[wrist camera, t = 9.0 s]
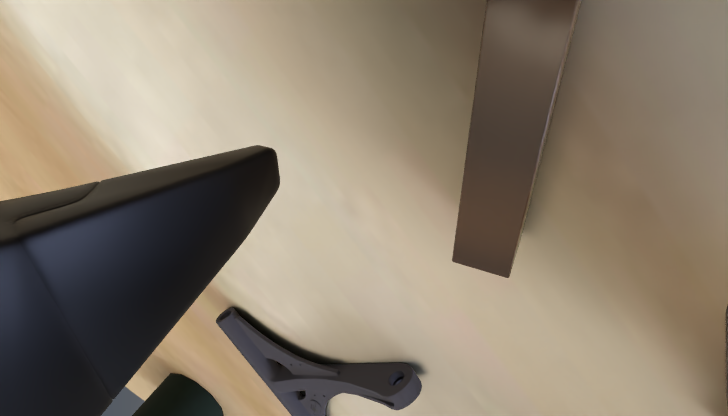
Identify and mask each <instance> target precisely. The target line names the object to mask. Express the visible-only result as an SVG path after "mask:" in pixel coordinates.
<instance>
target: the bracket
mask: <svg viewBox="0 0 728 416" xmlns="http://www.w3.org/2000/svg"><path fill="white" fill-rule="evenodd" d="M216 323H217V324H218V325H219V327H220V328H221V329H222V330H223V332H224V333H225V334H226V335H227V336H228V338H229V339H230V340H231V341H232V343H233V344H234V345H235V346H236V348H237V349H238V350H239V351H240V352H241V354H242V355H243V356H244V357H245V359H246V360H247V361H248V362H249V364H250V365H251V366H252V367H253V368H254V370H255V371H256V372H257V373H258V375H259V376H260V377H261V378H262V380H263V381H264V382H265V383H266V384H267V386H268V387H269V388H270V389H271V391H272V392H273V393H274V394H275V396H276V397H277V398H278V399H279V401H280V402H281V403H282V404H283V405H284V407H285V408H286V409H287V410H288V412H289V413H290V414H291V415H292V416H326V405H327V402H328V400H329V399H331V398H332V397H334V396H335V395H337V394H340V393H348V394H354V395H358V396H361V397H364V398H367V399H370V400H373V401H375V402H378V403H381V404H383V405H386V406H388V407H389V408H391V409H394V410H400V409H403V408H405V407H407V406H408V405H410V404H411V403H412V402H413V401H414V400H415V399H416V398H417V397H418V396H419V394H420V392H421V388H422V385H421V381H420V379H419V378H418V376H417V375H416V373H415V372H414V370H413V369H412V367H411V366H410V365H408V364H405V363H371V364H331V365H319V364H316V363H313V362H311V361H308V360H306V359H303V358H301V357H298V356H296V355H294V354H293V353H291V352H289V351H287V350H286V349H284V348H282V347H281V346H279V345H277V344H276V343H274V342H273V341H271V340H270V339H268V338H267V337H265V336H264V335H263V334H261V333H260V332H259V331H257V330H256V329H255V328H254V327H252V326H251V325H250V324H249V323H248V322H246V321H245V320H244V319H243V318H242V317H240V316H239V314H238V313H237V312H236V310H235V309H234V308H229V309H227V310H225V311H224V312H223V313H222V314H220V315H219V316H218V318H217V319H216ZM276 361H277V362H279V363H281V364H282V365H284V366H280V365H278V364H277V363H276ZM302 390H305V392H306V396H304V397H303V396H302V395H301V393H300V392H299V391H302Z"/></svg>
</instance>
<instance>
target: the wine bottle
mask: <svg viewBox="0 0 728 416" xmlns="http://www.w3.org/2000/svg"><path fill="white" fill-rule="evenodd" d="M132 416H223V412H222V409H221V407H220V406H219V404H218V403H217V402H216V401H215V399H214V398H213V397H212V395H211V394H209V393H208V392H207V391H206V390H205V389H203V388H202V387H201V386H200V385H199V384H197V383H196V382H194V381H192V380H190V379H188V378H186V377H185V376H183V375H179V374H171V373H170V375H169V376H168V377H167V378H166V379H165V380H164V381H163V382H162V383H161V384H160V386H159V387H158V388H157V389H156V390H155V391H154V392H153V393H152V394H151V395H150V397H149V398H148V399H147V400H146V401H145V402H144V403H143V404H142V405H141V406H140V407H139V409H138V410H137V411H136V412H135V413H134V414H133V415H132Z"/></svg>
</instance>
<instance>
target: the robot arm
mask: <svg viewBox="0 0 728 416" xmlns="http://www.w3.org/2000/svg"><path fill="white" fill-rule="evenodd" d="M279 185H280V176H279V168H278V161H277V154H276V152H275V150H273V149H272V148H268V147H264V146H260V145H256V146H251V147H247V148H243V149H238V150H234V151H229V152H225V153H221V154H216V155H212V156H207V157H203V158H199V159H194V160H190V161H185V162H181V163H177V164H172V165H168V166H163V167H159V168H155V169H150V170H146V171H142V172H137V173H133V174H128V175H124V176H120V177H115V178H111V179H106V180H102V181H101V182H93V183H89V184H84V185H80V186H75V187H70V188H66V189H61V190H57V191H52V192H47V193H42V194H37V195H31V196H26V197H21V198H16V199H10V200H5V201H0V416H101V415H102V413H103V412H104V411H105V410H106V409H107V407H108V406H109V405H110V404H111V403H112V399H114V398H115V397H116V396H117V395H118V394H119V392H120V391H121V390H122V389H123V388H124V386H125V385H126V384H127V383H128V382H129V380H130V379H131V378H132V377H133V375H134V374H135V373H136V372H137V371H138V369H139V368H140V367H141V366H142V364H143V363H144V362H145V361H146V360H147V358H148V357H149V356H150V355H151V354H152V352H153V351H154V350H155V349H156V347H157V346H158V345H159V344H160V343H161V341H162V340H163V339H164V338H165V336H166V335H167V334H168V333H169V332H170V330H171V329H172V328H173V327H174V326H175V324H176V323H177V322H178V321H179V319H180V318H181V317H182V316H183V315H184V313H185V312H186V311H187V310H188V309H189V307H190V306H191V305H192V304H193V302H194V301H195V300H196V299H197V298H198V296H199V295H200V294H201V293H202V291H203V290H204V289H205V288H206V287H207V285H208V284H209V283H210V282H211V281H212V279H213V278H214V277H215V276H216V274H217V273H218V272H219V271H220V270H221V268H222V267H223V266H224V265H225V263H226V262H227V261H228V260H229V259H230V257H231V256H232V255H233V254H234V253H235V251H236V250H237V249H238V248H239V246H240V245H241V244H242V243H243V241H244V240H245V239H246V237H247V236H248V234H249V233H250V232H251V230H252V229H253V227H254V226H255V224H256V223H257V221H258V219H259V218H260V216H261V215H262V213H263V212H264V210H265V209H266V207H267V206H268V204H269V203H270V201H271V200H272V198H273V197H274V195H275V194H276V192H277V190H278V188H279ZM726 396H727V405H728V306H727V309H726Z"/></svg>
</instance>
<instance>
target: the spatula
mask: <svg viewBox="0 0 728 416" xmlns="http://www.w3.org/2000/svg"><path fill="white" fill-rule="evenodd" d="M580 4H581V0H487V3H486V10H485V18H484V25H483V33H482V40H481V48H480V55H479V63H478V70H477V78H476V85H475V93H474V100H473V108H472V115H471V123H470V130H469V138H468V145H467V153H466V160H465V168H464V175H463V183H462V190H461V198H460V205H459V213H458V220H457V228H456V235H455V243H454V250H453V258H452V261H453V262H456V263H459V264H462V265H466V266H469V267H472V268H476V269H479V270H483V271H486V272H489V273H493V274H496V275H499V276H503V277H506V278H509V276H510V273H511V269H512V266H513V263H514V259H515V256H516V253H517V249H518V246H519V243H520V239H521V236H522V232H523V228H524V224H525V220H526V217H527V213H528V209H529V205H530V201H531V197H532V193H533V189H534V185H535V181H536V177H537V173H538V169H539V165H540V161H541V157H542V154H543V150H544V146H545V142H546V138H547V134H548V130H549V126H550V122H551V118H552V114H553V110H554V106H555V102H556V98H557V94H558V90H559V87H560V83H561V79H562V75H563V71H564V67H565V63H566V59H567V55H568V51H569V47H570V43H571V39H572V35H573V31H574V27H575V24H576V20H577V16H578V12H579V8H580Z"/></svg>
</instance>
